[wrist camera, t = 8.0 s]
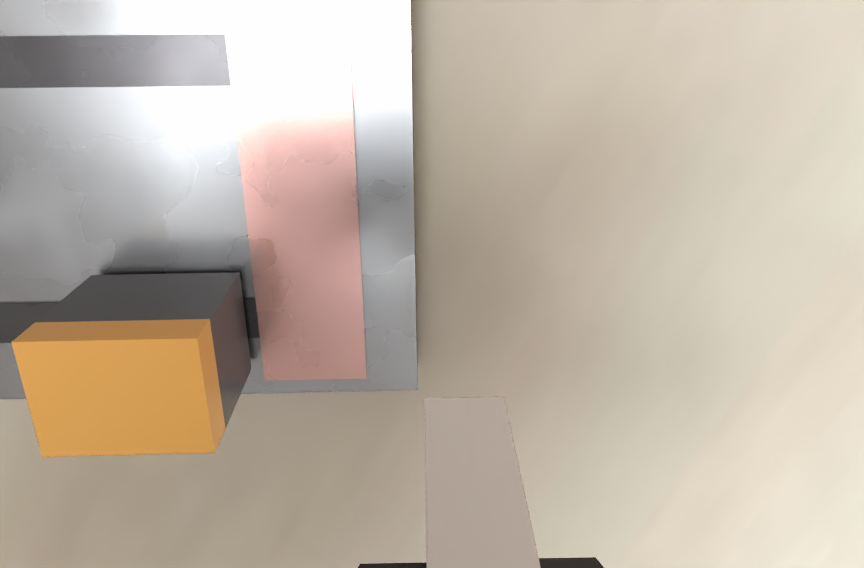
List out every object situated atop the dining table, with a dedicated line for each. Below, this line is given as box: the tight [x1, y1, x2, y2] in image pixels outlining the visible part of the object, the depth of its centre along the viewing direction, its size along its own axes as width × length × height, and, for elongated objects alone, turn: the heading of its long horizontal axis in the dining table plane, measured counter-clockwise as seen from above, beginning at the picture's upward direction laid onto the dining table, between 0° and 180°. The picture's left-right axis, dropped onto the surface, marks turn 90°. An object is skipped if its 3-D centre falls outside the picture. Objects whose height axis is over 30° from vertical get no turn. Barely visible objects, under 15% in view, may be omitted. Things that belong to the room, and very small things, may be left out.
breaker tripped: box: [11, 272, 251, 457], centre depth 17 cm, size 4×3×4 cm
